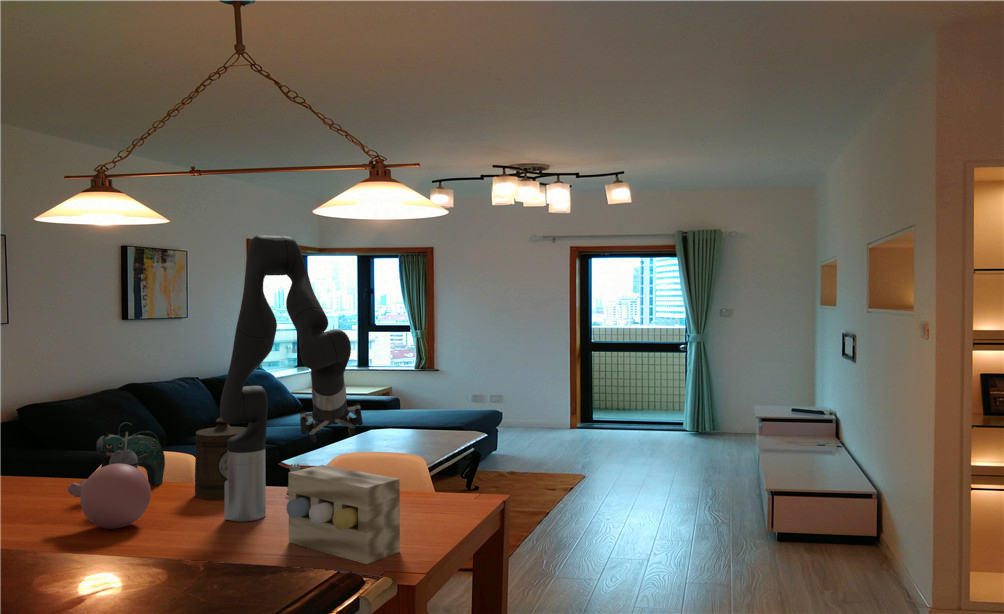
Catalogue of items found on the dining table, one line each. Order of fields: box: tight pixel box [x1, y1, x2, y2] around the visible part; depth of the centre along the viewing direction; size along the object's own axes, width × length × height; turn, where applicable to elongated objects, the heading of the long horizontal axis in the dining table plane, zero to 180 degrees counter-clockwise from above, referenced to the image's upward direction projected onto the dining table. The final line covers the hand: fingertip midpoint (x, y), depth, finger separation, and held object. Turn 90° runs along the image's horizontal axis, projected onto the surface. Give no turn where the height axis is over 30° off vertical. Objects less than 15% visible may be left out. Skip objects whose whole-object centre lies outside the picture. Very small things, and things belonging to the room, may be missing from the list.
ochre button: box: [333, 506, 358, 530], centre depth 167 cm, size 5×4×4 cm
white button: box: [309, 501, 334, 524], centre depth 171 cm, size 5×4×4 cm
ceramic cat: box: [95, 421, 166, 487], centre depth 230 cm, size 20×6×20 cm, turn 147°
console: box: [288, 464, 401, 565], centre depth 176 cm, size 10×25×16 cm, turn 54°
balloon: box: [66, 464, 152, 530], centre depth 192 cm, size 15×20×15 cm
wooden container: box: [194, 416, 247, 501], centre depth 225 cm, size 15×15×22 cm
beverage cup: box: [109, 431, 139, 469], centre depth 210 cm, size 7×7×20 cm
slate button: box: [286, 496, 311, 519], centre depth 176 cm, size 5×4×4 cm
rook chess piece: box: [286, 463, 302, 494], centre depth 226 cm, size 4×4×8 cm
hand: (332, 436), depth 190 cm, fingers open, 8 cm apart
